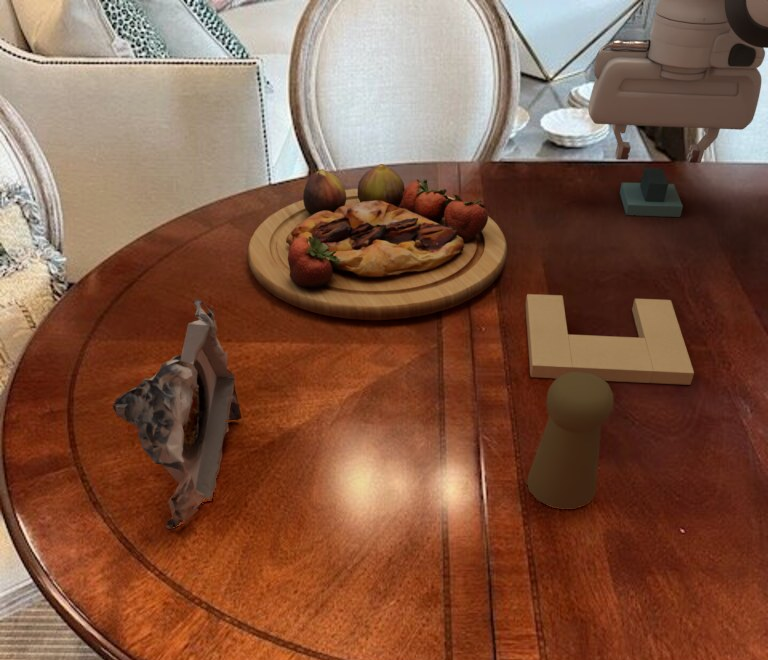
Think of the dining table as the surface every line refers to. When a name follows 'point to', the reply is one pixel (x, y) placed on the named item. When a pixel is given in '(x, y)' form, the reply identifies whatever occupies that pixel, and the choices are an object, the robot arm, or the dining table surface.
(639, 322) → the base pad
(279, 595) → the dining table surface
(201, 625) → the dining table surface
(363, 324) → the dining table surface
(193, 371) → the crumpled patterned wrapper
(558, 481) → the olive game pawn
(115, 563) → the dining table surface
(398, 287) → the wooden plate
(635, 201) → the teal pad
